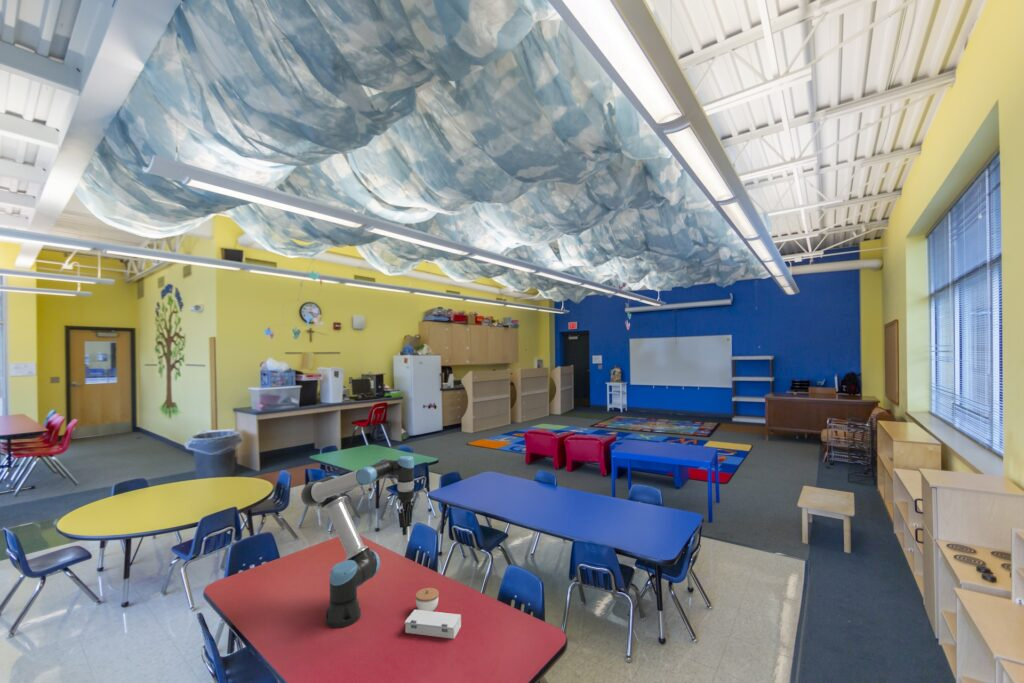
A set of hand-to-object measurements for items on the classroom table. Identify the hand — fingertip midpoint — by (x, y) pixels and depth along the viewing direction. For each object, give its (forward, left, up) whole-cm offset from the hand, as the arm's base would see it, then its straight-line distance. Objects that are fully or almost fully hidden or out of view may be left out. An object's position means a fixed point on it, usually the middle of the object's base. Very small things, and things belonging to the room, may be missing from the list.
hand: (405, 540), depth 204 cm
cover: (+18, -11, -28) cm, 35 cm away
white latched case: (+18, -10, -32) cm, 38 cm away
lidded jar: (+9, +3, -33) cm, 34 cm away
